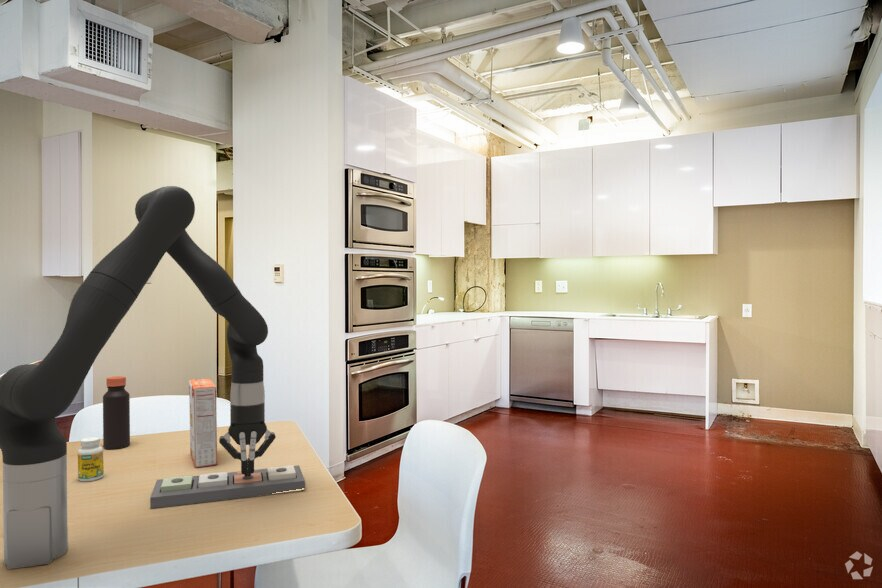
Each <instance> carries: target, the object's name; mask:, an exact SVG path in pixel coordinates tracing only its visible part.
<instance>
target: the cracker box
mask: <svg viewBox="0 0 882 588" xmlns="http://www.w3.org/2000/svg"><path fill="white" fill-rule="evenodd" d="M188 393H189V395H188V396H189V397H188V398H189V399H188V400H189V403H188V404H189V442H190V443H189V448H190V456H191V459H192V463H193V466H194V469H196V468H204V467H211V466H217V465H218V430H217V429H218V428H217V427H218V424H217V423H218V422H217V421H218V420H217V415H218V413H217V386H216V385H215V384H214V382H213V380H211V378H196V379H189V380H188Z"/></svg>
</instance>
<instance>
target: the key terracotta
mask: <svg viewBox="0 0 882 588" xmlns="http://www.w3.org/2000/svg"><path fill="white" fill-rule="evenodd" d="M253 482H262V476H261V472H260V473H252V474H251V476H248V477H244V474H241V475H234V485H235V484H244V483H253Z"/></svg>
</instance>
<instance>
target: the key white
mask: <svg viewBox="0 0 882 588" xmlns="http://www.w3.org/2000/svg"><path fill="white" fill-rule="evenodd" d="M227 473H228V471H223V472H212V473H204V474H202V473H201V474H199V475H198V476H199V482H198V488H207V487H216V486H225V485H227Z"/></svg>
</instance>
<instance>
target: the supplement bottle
mask: <svg viewBox="0 0 882 588" xmlns="http://www.w3.org/2000/svg"><path fill="white" fill-rule="evenodd" d="M100 440H101V439H100V437H97V436H93V437H92V436H91V437H84V438H82V439H81V440H80V446H81V447H80V448H79V449H78V450H77V478H78V479H77V480H78V481H79V482H93V481H98V480H99V479H102V478H103V477H104V475H105V471H104V447H103V446H102V445H100V443H101V441H100Z"/></svg>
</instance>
